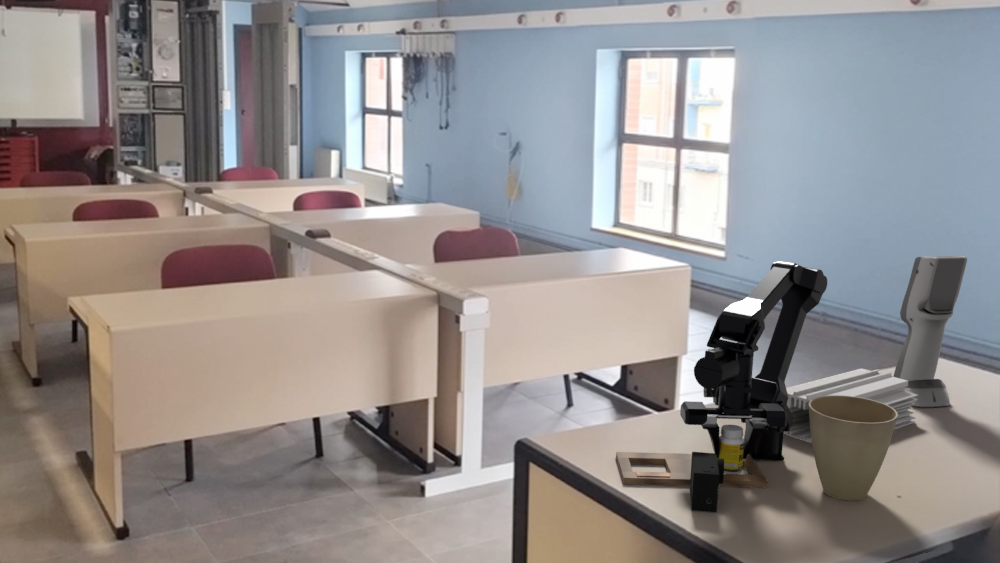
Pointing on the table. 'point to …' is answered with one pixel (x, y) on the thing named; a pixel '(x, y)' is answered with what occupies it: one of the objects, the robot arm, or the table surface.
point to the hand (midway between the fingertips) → (730, 457)
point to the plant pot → (849, 442)
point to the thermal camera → (928, 325)
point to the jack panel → (681, 470)
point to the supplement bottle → (731, 448)
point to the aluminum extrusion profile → (849, 385)
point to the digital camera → (705, 481)
